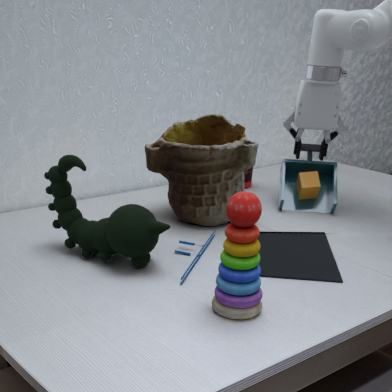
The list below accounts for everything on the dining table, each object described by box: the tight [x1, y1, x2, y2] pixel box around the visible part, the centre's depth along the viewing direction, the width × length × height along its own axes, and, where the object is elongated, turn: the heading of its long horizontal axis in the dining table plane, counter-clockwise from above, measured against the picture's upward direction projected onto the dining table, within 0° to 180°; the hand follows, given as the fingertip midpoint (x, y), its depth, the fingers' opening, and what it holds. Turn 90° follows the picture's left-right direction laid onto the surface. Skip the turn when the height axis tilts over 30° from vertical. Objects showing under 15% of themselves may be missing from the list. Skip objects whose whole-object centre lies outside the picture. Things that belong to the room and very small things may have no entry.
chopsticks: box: [174, 230, 216, 286], centre depth 97 cm, size 1×25×5 cm
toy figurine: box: [43, 154, 171, 269], centre depth 90 cm, size 9×19×25 cm
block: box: [296, 171, 321, 200], centre depth 122 cm, size 4×4×4 cm
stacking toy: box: [211, 190, 263, 320], centre depth 75 cm, size 8×8×19 cm
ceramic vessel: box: [144, 113, 260, 227], centre depth 111 cm, size 23×24×25 cm
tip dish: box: [277, 142, 338, 215], centre depth 122 cm, size 13×16×6 cm
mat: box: [257, 230, 344, 283], centre depth 105 cm, size 18×34×1 cm, turn 175°
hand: (309, 157), depth 123 cm, fingers closed on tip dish, 5 cm apart
